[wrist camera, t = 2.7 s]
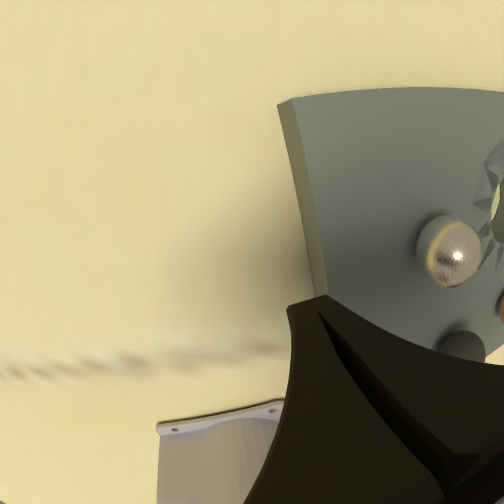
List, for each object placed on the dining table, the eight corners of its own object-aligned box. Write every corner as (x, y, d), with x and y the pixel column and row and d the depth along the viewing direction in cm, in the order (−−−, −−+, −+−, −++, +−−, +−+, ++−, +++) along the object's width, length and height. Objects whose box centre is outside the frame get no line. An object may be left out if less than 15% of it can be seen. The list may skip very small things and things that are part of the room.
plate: (329, 406, 20) (339, 431, 17) (276, 105, 12) (292, 98, 9) (496, 323, 20) (512, 336, 18) (511, 95, 12) (536, 97, 10)
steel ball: (402, 278, 13) (441, 312, 10) (401, 214, 12) (448, 239, 9) (449, 259, 13) (489, 286, 10) (450, 200, 12) (497, 220, 9)
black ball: (423, 370, 16) (449, 403, 13) (430, 332, 15) (462, 367, 12) (459, 350, 16) (486, 378, 13) (469, 312, 15) (501, 341, 12)
